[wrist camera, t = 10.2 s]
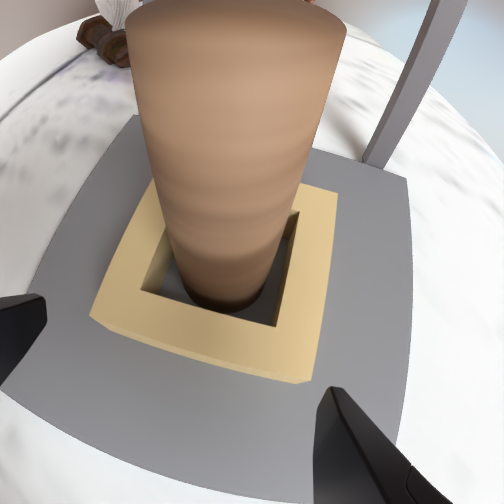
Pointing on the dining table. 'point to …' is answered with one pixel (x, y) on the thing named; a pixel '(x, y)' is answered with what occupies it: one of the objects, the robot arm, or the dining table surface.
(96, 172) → the socket stand
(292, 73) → the walnut peg
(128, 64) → the bolt
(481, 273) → the dining table surface
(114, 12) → the shell sculpture
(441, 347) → the dining table surface
